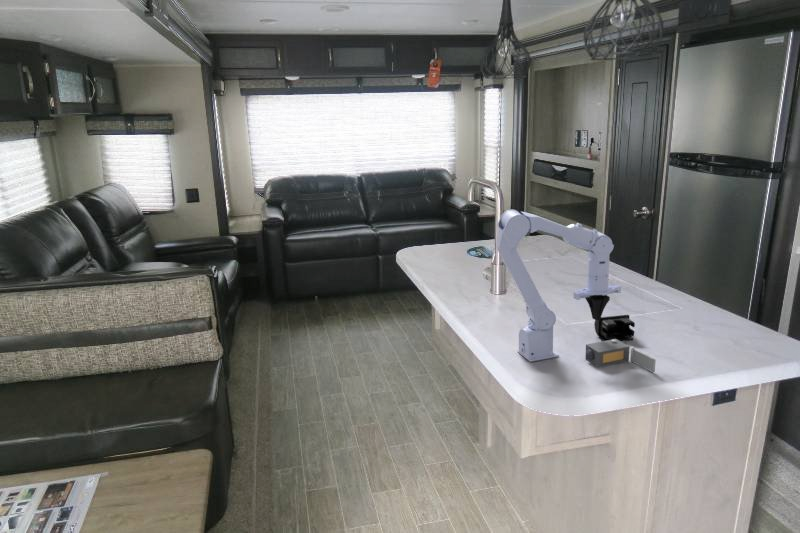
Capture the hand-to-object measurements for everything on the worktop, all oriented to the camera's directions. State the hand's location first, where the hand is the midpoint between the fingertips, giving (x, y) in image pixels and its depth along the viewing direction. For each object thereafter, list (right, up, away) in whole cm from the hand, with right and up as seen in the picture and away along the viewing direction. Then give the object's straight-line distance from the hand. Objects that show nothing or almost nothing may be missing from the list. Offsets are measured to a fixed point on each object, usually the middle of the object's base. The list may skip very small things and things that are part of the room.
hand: (596, 318), depth 166 cm
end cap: (+9, -7, +11) cm, 16 cm away
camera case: (+2, -11, -4) cm, 12 cm away
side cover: (+9, -12, -10) cm, 18 cm away
